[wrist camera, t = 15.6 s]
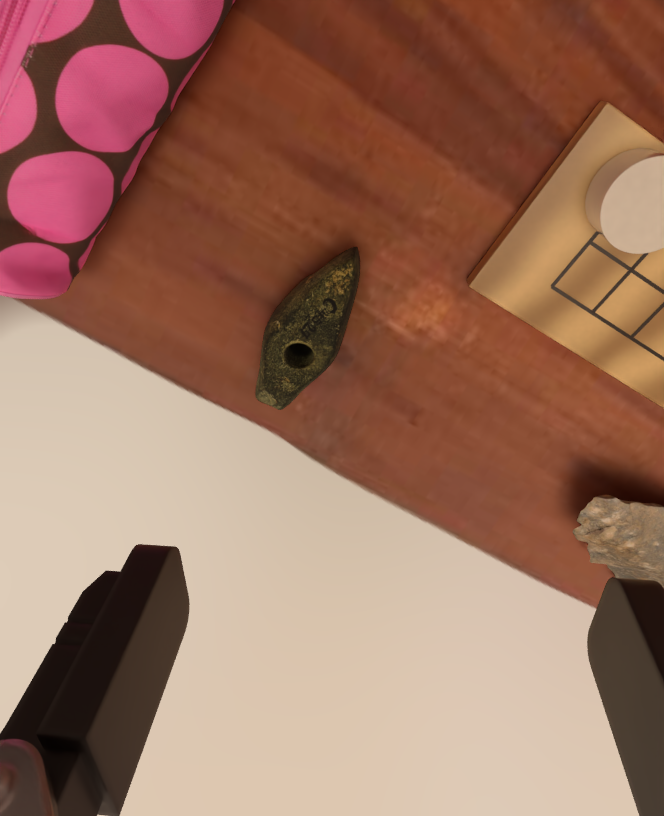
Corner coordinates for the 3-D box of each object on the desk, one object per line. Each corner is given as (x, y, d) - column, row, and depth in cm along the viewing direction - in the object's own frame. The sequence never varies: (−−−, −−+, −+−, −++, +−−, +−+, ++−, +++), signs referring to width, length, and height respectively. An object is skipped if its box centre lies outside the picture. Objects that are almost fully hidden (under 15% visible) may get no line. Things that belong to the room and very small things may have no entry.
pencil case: (92, -222, 24) (-70, -372, 16) (281, -52, 26) (229, -102, 18) (-46, 197, 34) (-191, 244, 26) (100, 292, 37) (12, 364, 28)
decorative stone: (323, 404, 40) (316, 438, 36) (256, 387, 39) (243, 419, 36) (369, 239, 33) (367, 260, 30) (290, 217, 33) (278, 236, 29)
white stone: (566, 211, 30) (579, 223, 28) (631, 128, 28) (652, 135, 26) (630, 255, 31) (649, 271, 29) (699, 179, 29) (724, 190, 27)
